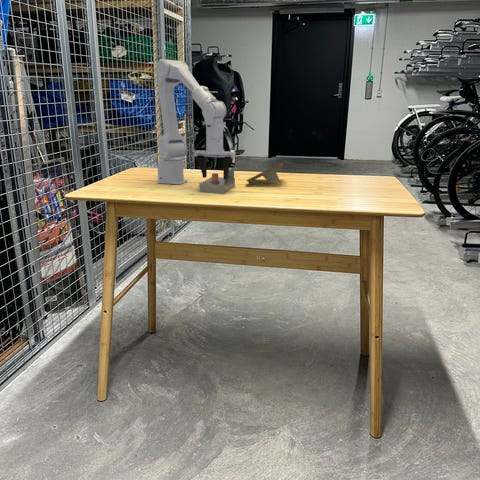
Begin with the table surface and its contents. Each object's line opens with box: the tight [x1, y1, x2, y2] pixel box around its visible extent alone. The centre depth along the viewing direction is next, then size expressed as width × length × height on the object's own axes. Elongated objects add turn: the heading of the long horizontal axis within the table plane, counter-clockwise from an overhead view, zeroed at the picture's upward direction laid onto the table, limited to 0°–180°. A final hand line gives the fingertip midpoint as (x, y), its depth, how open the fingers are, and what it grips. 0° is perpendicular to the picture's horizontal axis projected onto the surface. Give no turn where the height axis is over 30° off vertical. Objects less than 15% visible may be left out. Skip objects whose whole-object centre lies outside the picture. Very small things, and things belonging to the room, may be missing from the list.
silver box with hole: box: [198, 167, 236, 195], centre depth 152 cm, size 9×14×7 cm, turn 165°
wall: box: [245, 162, 284, 184], centre depth 163 cm, size 16×9×15 cm
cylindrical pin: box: [211, 173, 219, 183], centre depth 149 cm, size 2×2×6 cm
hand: (214, 177), depth 149 cm, fingers open, 7 cm apart
